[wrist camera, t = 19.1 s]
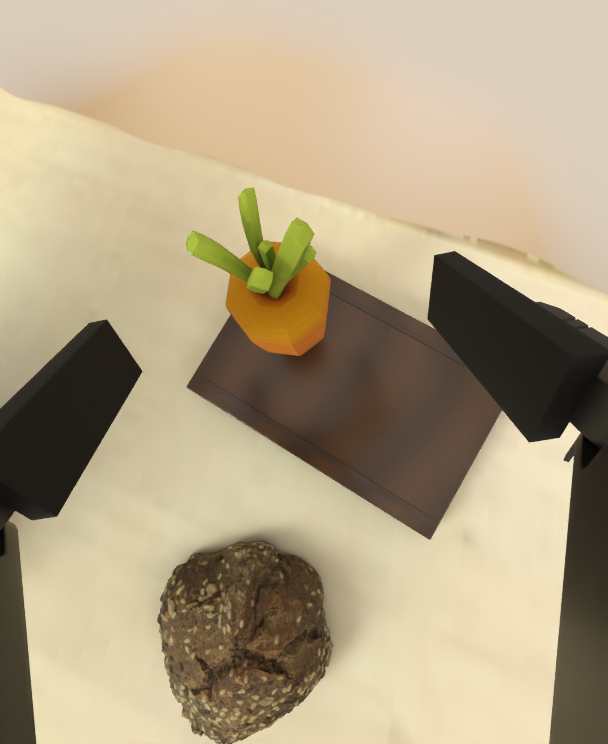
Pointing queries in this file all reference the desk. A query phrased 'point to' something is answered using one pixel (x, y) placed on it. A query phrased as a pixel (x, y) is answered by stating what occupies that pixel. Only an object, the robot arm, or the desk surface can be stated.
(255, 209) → the carrot
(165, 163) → the desk surface
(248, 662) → the bread roll
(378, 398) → the bread board
